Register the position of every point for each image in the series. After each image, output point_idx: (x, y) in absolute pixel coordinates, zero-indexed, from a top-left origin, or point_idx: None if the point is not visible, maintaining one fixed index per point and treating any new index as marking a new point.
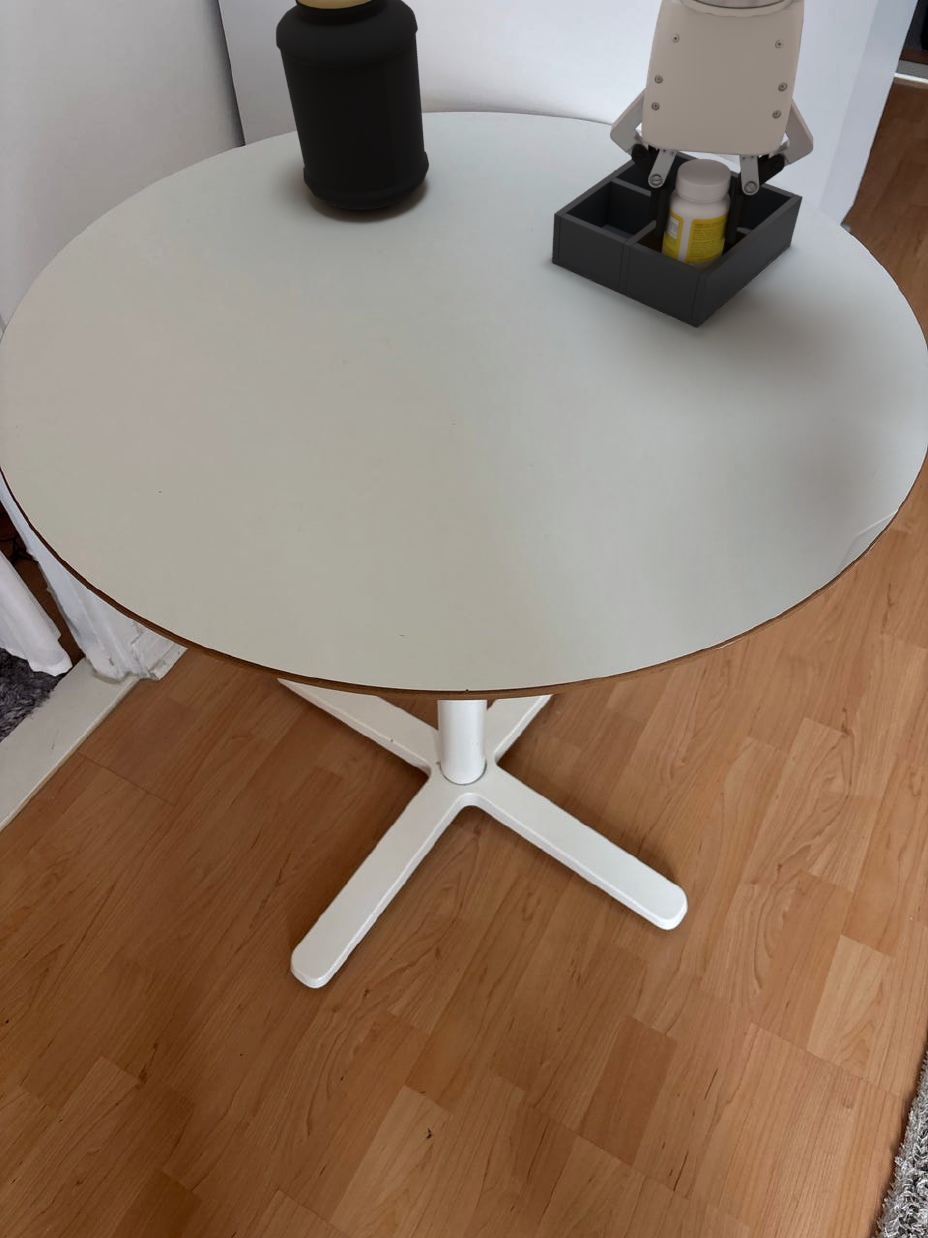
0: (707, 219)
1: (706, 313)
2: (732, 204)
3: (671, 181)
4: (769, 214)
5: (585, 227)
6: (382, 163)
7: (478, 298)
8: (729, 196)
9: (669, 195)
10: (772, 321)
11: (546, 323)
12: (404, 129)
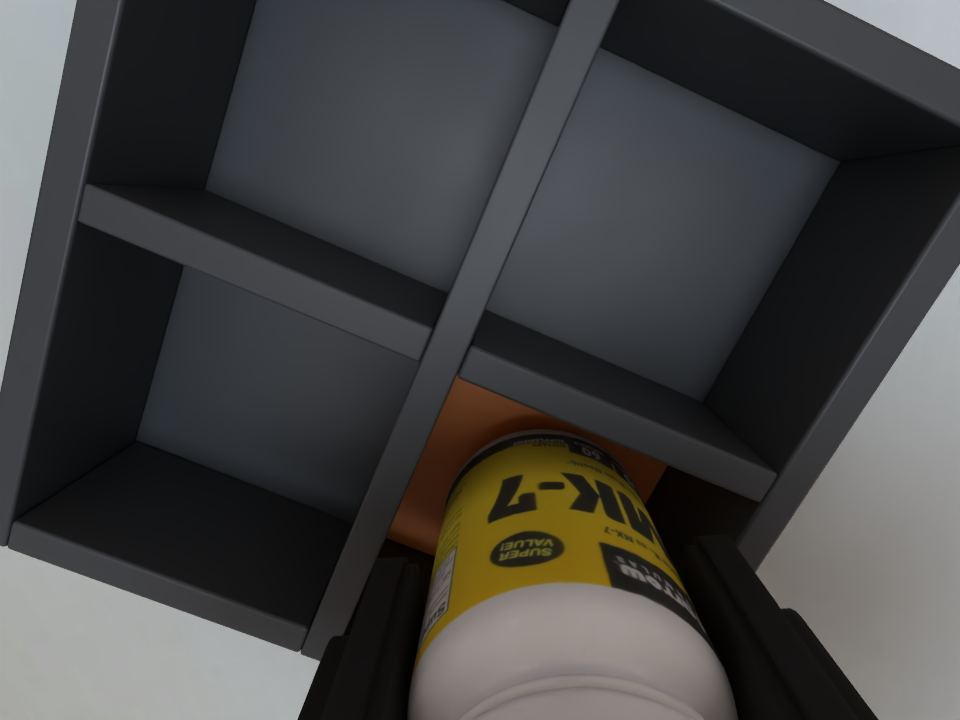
0: None
1: None
2: None
3: (385, 708)
4: (830, 122)
5: (128, 589)
6: None
7: (13, 634)
8: (732, 717)
9: (402, 674)
10: (789, 556)
11: (218, 683)
12: None
